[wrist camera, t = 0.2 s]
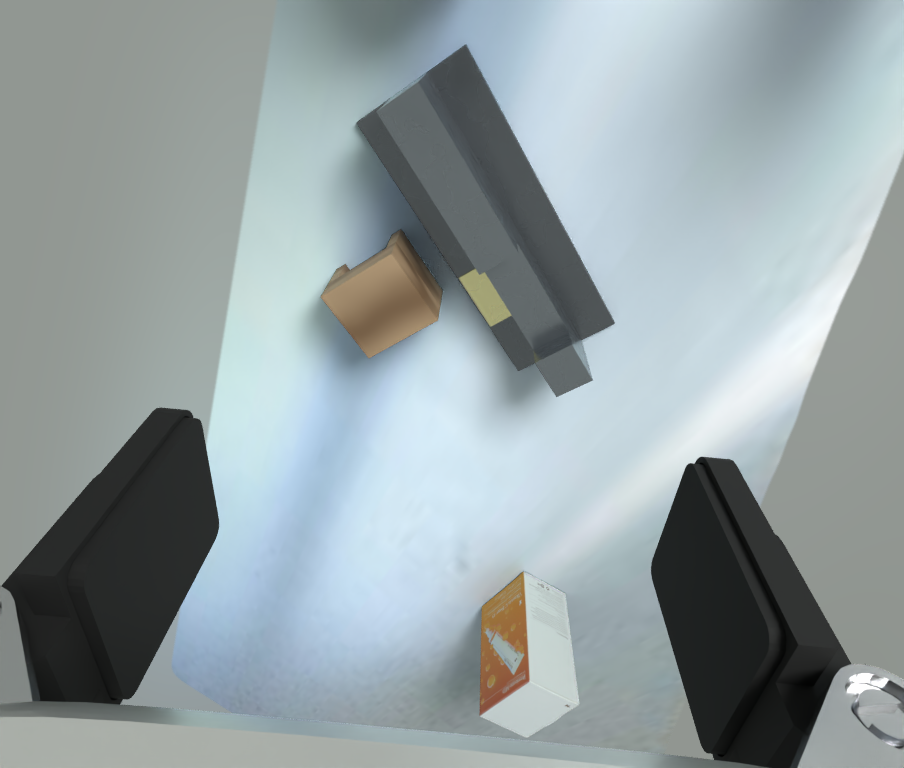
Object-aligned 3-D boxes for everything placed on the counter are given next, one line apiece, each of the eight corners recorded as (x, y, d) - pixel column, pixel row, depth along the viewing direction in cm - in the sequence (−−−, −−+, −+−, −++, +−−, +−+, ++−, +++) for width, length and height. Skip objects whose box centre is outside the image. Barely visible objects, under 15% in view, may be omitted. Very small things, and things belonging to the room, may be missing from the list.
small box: (523, 569, 66) (530, 681, 55) (566, 592, 68) (582, 706, 57) (479, 606, 70) (477, 717, 59) (522, 627, 72) (528, 740, 61)
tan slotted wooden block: (336, 269, 49) (320, 297, 44) (401, 229, 46) (391, 253, 42) (379, 326, 51) (368, 358, 46) (442, 290, 49) (437, 320, 44)
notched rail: (357, 121, 42) (336, 139, 36) (466, 44, 40) (462, 50, 34) (518, 367, 52) (521, 413, 47) (613, 320, 50) (630, 362, 44)
